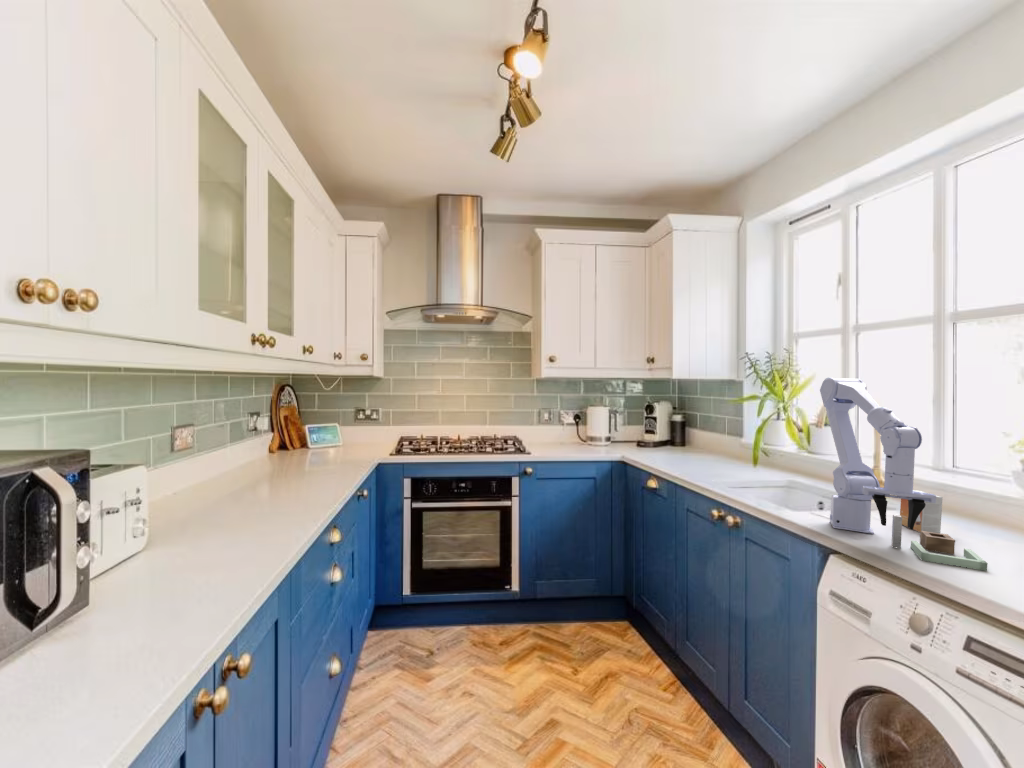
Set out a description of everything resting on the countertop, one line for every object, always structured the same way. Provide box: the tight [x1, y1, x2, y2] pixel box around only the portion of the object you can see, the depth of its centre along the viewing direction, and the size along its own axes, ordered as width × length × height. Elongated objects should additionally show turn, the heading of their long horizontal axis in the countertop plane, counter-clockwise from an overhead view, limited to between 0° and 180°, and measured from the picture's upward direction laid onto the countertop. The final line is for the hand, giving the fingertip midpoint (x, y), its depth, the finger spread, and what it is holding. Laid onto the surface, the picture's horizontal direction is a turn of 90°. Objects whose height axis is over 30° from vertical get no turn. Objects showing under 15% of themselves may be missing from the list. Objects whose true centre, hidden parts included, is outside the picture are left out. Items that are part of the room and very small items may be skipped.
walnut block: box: [919, 531, 956, 555], centre depth 121 cm, size 5×5×4 cm
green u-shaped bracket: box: [910, 540, 988, 572], centre depth 115 cm, size 11×10×2 cm
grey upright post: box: [891, 514, 903, 549], centre depth 122 cm, size 2×2×8 cm
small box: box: [899, 489, 943, 533], centre depth 138 cm, size 8×6×10 cm
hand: (896, 526), depth 122 cm, fingers open, 5 cm apart
